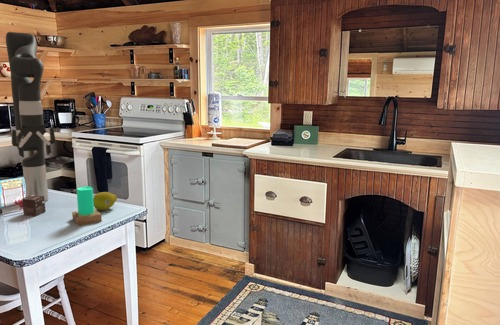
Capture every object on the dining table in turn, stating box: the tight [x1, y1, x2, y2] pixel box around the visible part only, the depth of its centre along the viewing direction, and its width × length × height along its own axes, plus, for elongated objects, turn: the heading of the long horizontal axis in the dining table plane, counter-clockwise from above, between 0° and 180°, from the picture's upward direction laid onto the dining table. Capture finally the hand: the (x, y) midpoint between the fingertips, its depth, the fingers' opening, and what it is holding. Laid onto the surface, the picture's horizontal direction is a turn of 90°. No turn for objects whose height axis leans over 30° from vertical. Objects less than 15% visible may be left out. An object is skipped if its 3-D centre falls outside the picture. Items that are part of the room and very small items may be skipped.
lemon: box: [93, 191, 118, 211], centre depth 169 cm, size 11×8×8 cm
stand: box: [71, 207, 102, 227], centre depth 157 cm, size 9×9×3 cm
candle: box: [76, 184, 95, 215], centre depth 155 cm, size 6×6×12 cm
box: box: [21, 195, 46, 217], centre depth 162 cm, size 6×6×7 cm
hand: (35, 155), depth 144 cm, fingers open, 8 cm apart
